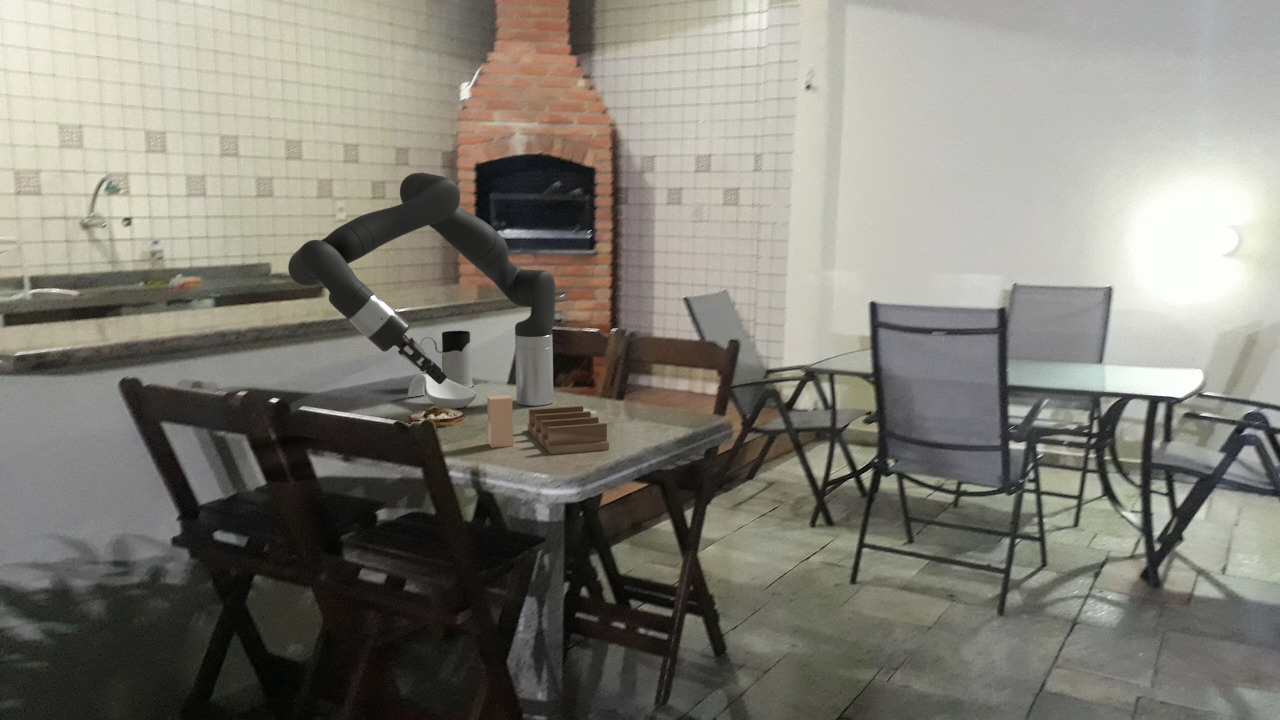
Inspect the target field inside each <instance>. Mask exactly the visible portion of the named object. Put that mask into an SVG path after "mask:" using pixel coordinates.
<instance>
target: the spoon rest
mask: <svg viewBox="0 0 1280 720" xmlns="http://www.w3.org/2000/svg"><path fill="white" fill-rule="evenodd" d="M411 380H412V381H410V385H409V386H408V391H407V397H408V398H409V397H414V396H420V395H424V396H425V395H427V397H428V400H429V401H430V402H431V403H432V404H433V406H436V407H439V408H450V409H455V410H459V409H458V408H460V409H463V408H465V407H468V406H469V405H471V404H472V402H474V401H475V399H476V397H477V393H476V391H474V390H473V389H471V388H467V387H464V386H462V385H459V384H457V383H455V382H453V381H451V380H449V379H447V378H446V379H445V380H444V382H443V383H442V384H438V383H437V382H436V381H434V380H433V379H432V378H431V377H430V376H429V375H428V374H427V373H424V374H423V373H419V374H416V375H415V376H414V378H413V379H411ZM425 392H426V394H425ZM414 398H415V397H414Z"/></svg>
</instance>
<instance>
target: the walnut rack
mask: <svg viewBox="0 0 1280 720" xmlns="http://www.w3.org/2000/svg"><path fill="white" fill-rule="evenodd" d="M591 414H592V411H590V410H585V411H584V405H571V406H557V407H543V408H530V409H528V423H527V431H528V432H529V433H530V434H531V435H532V436H533V437H534V439H535V440H536V441H537V442H538V443H540V445H541V446H542V447H543V448H544V449H545V450H546V451H547V452H548V453H549V454H550V455H558V454H573V453H582V452H583V453H585V452H586V453H587V452H595V451H607V450H608V451H609V450H610V442H609V441H608V429H607V427H608V424H607V423H606V422H599V417H598V416H592V415H591Z"/></svg>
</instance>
